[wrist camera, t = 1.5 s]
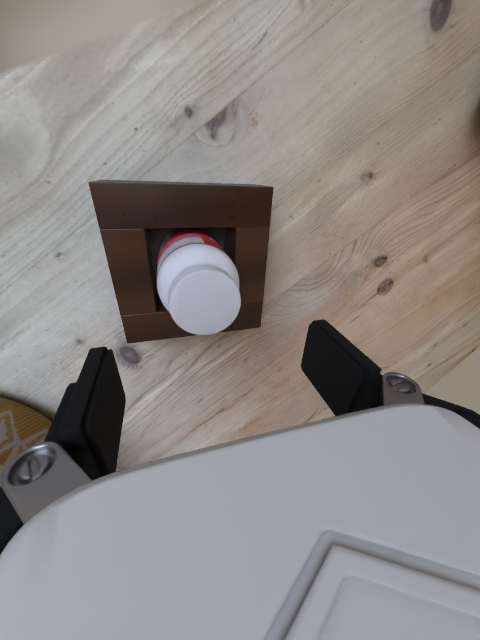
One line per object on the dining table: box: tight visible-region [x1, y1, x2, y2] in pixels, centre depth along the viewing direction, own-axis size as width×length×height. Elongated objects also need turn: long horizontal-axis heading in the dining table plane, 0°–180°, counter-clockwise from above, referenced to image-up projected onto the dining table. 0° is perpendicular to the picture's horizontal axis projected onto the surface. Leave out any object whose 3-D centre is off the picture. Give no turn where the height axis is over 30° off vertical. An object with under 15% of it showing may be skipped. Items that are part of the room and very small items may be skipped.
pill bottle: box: [157, 228, 241, 335], centre depth 20 cm, size 6×6×11 cm
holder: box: [89, 180, 273, 343], centre depth 23 cm, size 13×13×4 cm
